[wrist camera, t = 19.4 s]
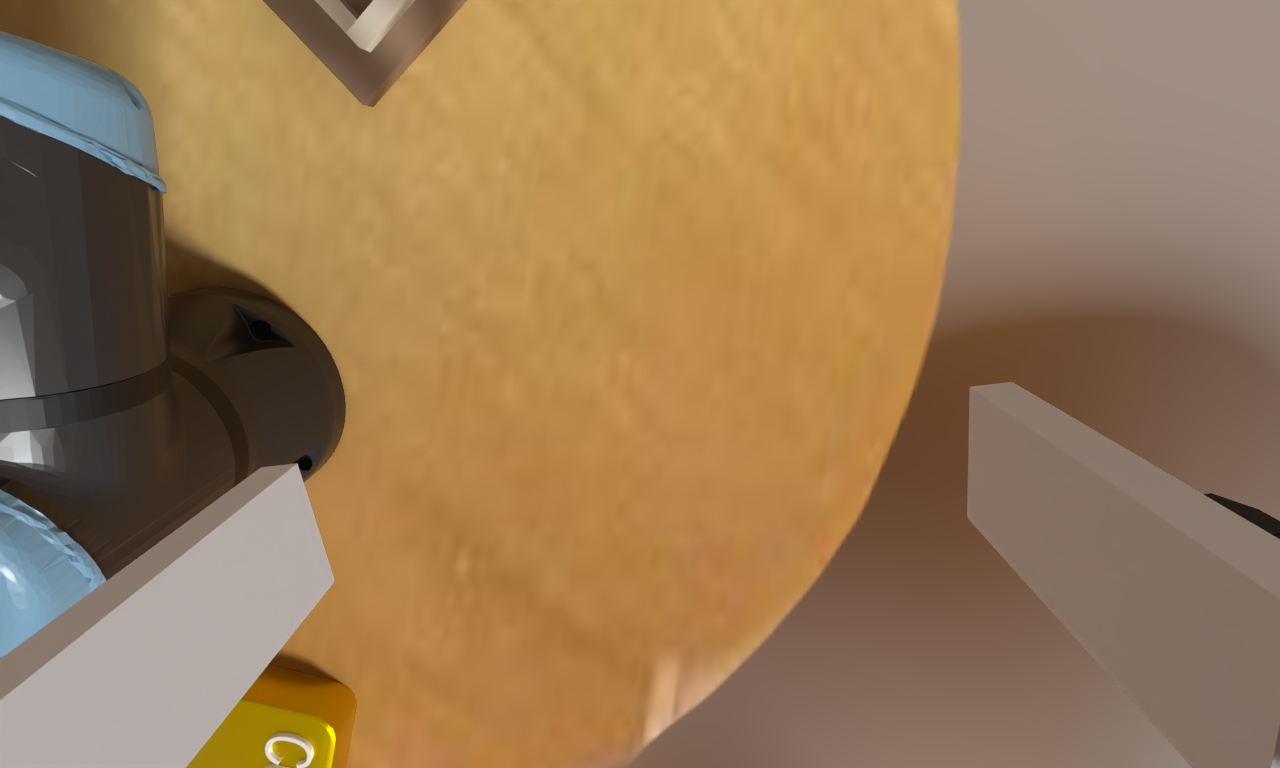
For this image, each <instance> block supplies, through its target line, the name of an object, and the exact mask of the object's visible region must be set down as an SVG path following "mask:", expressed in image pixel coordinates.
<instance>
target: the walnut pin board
mask: <svg viewBox="0 0 1280 768" xmlns="http://www.w3.org/2000/svg"><path fill="white" fill-rule="evenodd" d="M263 1H264V2H265V3H266V4H267V5H268V6H269V7H270V8H271V9H272V10H273V11H274V12H275V13H276V14H277V16H278V17H279V18H280V19H281V20H282V21H283V22H284V23H285V24H286V25H287V26H288V27H289V28H290V29H291V30H292V31H293V32H294V33H295V34H296V35H297V36H298V37H299V38H300V40H301V41H302V42H303V43H304V44H305V45H306V46H307V47H308V48H309V49H310V50H311V51H312V52H313V53H314V54H315V55H316V56H317V57H318V58H319V59H320V60H321V61H322V62H323V63H324V65H325V66H326V67H327V68H328V69H329V70H330V71H331V72H332V73H333V74H334V75H335V76H336V77H337V78H338V79H339V80H340V81H341V82H342V83H343V84H344V85H345V86H346V87H347V89H348V90H349V91H350V92H351V93H352V94H353V95H354V96H355V97H356V98H357V99H358V100H359V101H360V102H361V103H362V104H363V105H367V106H372V107H374V105H375V104H376V103H377V102H378V101H379V100H380V99H381V97H382V96H383V95H384V94H385V93H386V92H387V91H388V90H389V88H390V87H391V86H392V85H393V84H394V83H395V82H396V80H397V79H398V78H399V77H400V76H401V75H402V74H403V72H404V71H405V70H406V69H407V68H408V67H409V66H410V65H411V63H412V62H413V61H414V60H415V59H416V58H417V57H418V55H419V54H420V53H421V52H422V51H423V50H424V49H425V47H426V46H427V45H428V44H429V43H430V42H431V41H432V40H433V38H434V37H435V36H436V35H437V34H438V33H439V32H440V30H441V29H442V28H443V27H444V26H445V25H446V24H447V22H448V21H449V20H450V19H451V18H452V17H453V16H454V14H455V13H456V12H457V11H458V10H459V9H460V8H461V7H462V5H463V4H464V3H465V2H466V1H467V0H263Z"/></svg>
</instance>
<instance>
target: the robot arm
mask: <svg viewBox="0 0 1280 768" xmlns="http://www.w3.org/2000/svg"><path fill="white" fill-rule="evenodd" d="M162 193H166V185H165V183H164V181H163V179H162V178H160V176H159V169H158V160H157V152H156V144H155V135H154V127H153V118H152V114H151V111H150V108H149V106H148V104H147V102H146V100H145V98H144V97H143V95H142V94H141V93H140V92H139V90H138V89H137V88H136V87H135V86H134V85H133V84H131V83H130V82H129V81H128V80H127V79H125V78H124V77H123V76H121V75H120V74H118V73H116V72H115V71H113V70H111V69H109V68H107V67H105V66H102V65H100V64H98V63H95V62H92V61H90V60H87V59H84V58H82V57H79V56H76V55H73V54H71V53H68V52H65V51H62V50H59V49H56V48H53V47H50V46H47V45H44V44H41V43H38V42H35V41H32V40H29V39H26V38H22V37H19V36H16V35H13V34H10V33H7V32H4V31H0V768H186V767H187V766H188V764H189V763H190V762H191V761H192V759H193V758H194V757H195V756H196V754H197V753H198V752H199V751H200V749H201V748H202V747H203V746H204V744H205V743H206V742H207V741H208V739H209V738H210V737H211V736H212V734H213V733H214V732H215V731H216V729H217V728H218V727H219V726H220V724H221V723H222V722H223V721H224V719H225V718H226V717H227V716H228V714H229V713H230V712H231V711H232V709H233V708H234V707H235V706H236V704H237V703H238V702H239V701H240V699H241V698H242V697H243V696H244V694H245V693H246V692H247V691H248V689H249V688H250V687H251V686H252V684H253V683H254V682H255V681H256V679H257V678H258V677H259V676H260V674H261V673H262V672H263V671H264V669H265V668H266V667H267V666H268V664H269V663H270V662H271V660H272V659H273V658H274V657H275V655H276V654H277V653H278V652H279V650H280V649H281V648H282V647H283V645H284V644H285V643H286V642H287V640H288V639H289V638H290V637H291V635H292V634H293V633H294V632H295V630H296V629H297V628H298V627H299V625H300V624H301V623H302V622H303V620H304V619H305V618H306V617H307V615H308V614H309V613H310V612H311V610H312V609H313V608H314V607H315V605H316V604H317V603H318V602H319V600H320V599H321V598H322V597H323V595H324V594H325V593H326V592H327V590H328V589H329V588H330V587H331V585H332V584H333V583H334V582H335V581H334V577H333V574H332V571H331V568H330V565H329V562H328V558H327V555H326V552H325V549H324V546H323V543H322V539H321V536H320V533H319V530H318V527H317V523H316V520H315V517H314V514H313V511H312V508H311V504H310V501H309V498H308V495H307V492H306V489H305V485H304V482H305V481H306V480H307V479H308V478H310V477H311V476H312V475H313V474H314V473H315V472H317V471H318V470H319V469H320V468H321V467H322V466H323V465H324V464H325V463H326V462H327V461H328V459H329V458H330V457H331V455H332V454H333V452H334V451H335V449H336V447H337V445H338V443H339V441H340V438H341V435H342V432H343V428H344V422H345V395H344V389H343V385H342V381H341V378H340V375H339V372H338V370H337V367H336V365H335V363H334V361H333V359H332V357H331V355H330V354H329V352H328V350H327V349H326V347H325V346H324V344H323V343H322V342H321V340H320V339H319V338H318V337H317V335H316V334H315V333H314V332H313V331H312V330H311V329H310V328H309V327H308V326H307V325H306V324H305V323H304V322H303V321H302V320H301V319H299V318H298V317H297V316H296V315H294V314H293V313H292V312H290V311H289V310H287V309H286V308H284V307H282V306H281V305H279V304H277V303H275V302H273V301H271V300H269V299H267V298H265V297H262V296H260V295H257V294H254V293H250V292H247V291H243V290H238V289H231V288H204V289H198V290H194V291H190V292H186V293H182V294H178V295H174V296H170V297H168V294H167V275H166V256H165V237H164V218H163V199H162ZM968 457H969V459H968V505H967V518H968V519H969V520H970V521H971V522H972V523H973V525H974V526H975V527H976V528H977V529H978V530H979V531H980V532H981V533H982V534H983V536H984V537H985V538H986V539H987V540H988V541H989V542H990V543H991V545H992V546H993V547H994V548H995V549H996V550H997V551H998V552H999V553H1000V555H1001V556H1002V557H1003V558H1004V559H1005V560H1006V561H1007V562H1008V563H1009V564H1010V566H1011V567H1012V568H1013V569H1014V570H1015V571H1016V572H1017V574H1018V575H1019V576H1020V577H1021V578H1022V579H1023V580H1024V581H1025V582H1026V583H1027V584H1028V586H1029V587H1030V588H1031V589H1032V590H1033V591H1034V592H1035V594H1036V595H1037V596H1038V597H1039V598H1040V599H1041V600H1042V601H1043V602H1044V603H1045V605H1046V606H1047V607H1048V608H1049V609H1050V610H1051V611H1052V612H1053V614H1054V615H1055V616H1056V617H1057V618H1058V619H1059V620H1060V621H1061V622H1062V624H1063V625H1064V626H1065V627H1066V628H1067V629H1068V630H1069V631H1070V632H1071V634H1072V635H1073V636H1074V637H1075V638H1076V639H1077V640H1078V641H1079V642H1080V644H1081V645H1082V646H1083V647H1084V648H1085V649H1086V650H1087V651H1088V652H1089V654H1090V655H1091V656H1092V657H1093V658H1094V659H1095V660H1096V661H1097V662H1098V664H1099V665H1100V666H1101V667H1102V668H1103V669H1104V670H1105V671H1106V672H1107V674H1108V675H1109V676H1110V677H1111V678H1112V679H1113V680H1114V681H1115V682H1116V684H1117V685H1118V686H1119V687H1120V688H1121V689H1122V690H1123V691H1124V693H1125V694H1126V695H1127V696H1128V697H1129V698H1130V699H1131V700H1132V701H1133V702H1134V704H1135V705H1136V706H1137V707H1138V708H1139V709H1140V710H1141V711H1142V712H1143V714H1144V715H1145V716H1146V717H1147V718H1148V719H1149V720H1150V721H1151V722H1152V724H1153V725H1154V726H1155V727H1156V728H1157V729H1158V730H1159V731H1160V732H1161V734H1162V735H1163V736H1164V737H1165V738H1166V739H1167V740H1168V741H1169V743H1170V744H1171V745H1172V746H1173V747H1174V748H1175V749H1176V750H1177V751H1178V752H1179V754H1180V755H1181V756H1182V757H1183V758H1184V759H1185V760H1186V761H1187V763H1188V764H1189V765H1190V766H1191V767H1192V768H1280V521H1278V520H1277V519H1275V518H1273V517H1271V516H1270V515H1268V514H1266V513H1264V512H1262V511H1260V510H1258V509H1255V508H1253V507H1250V506H1247V505H1244V504H1241V503H1238V502H1235V501H1232V500H1229V499H1226V498H1223V497H1221V496H1218V495H1214V494H1212V493H1210V494H1201V493H1200V492H1198V491H1197V490H1195V489H1193V488H1191V487H1190V486H1188V485H1186V484H1185V483H1183V482H1181V481H1180V480H1178V479H1176V478H1174V477H1173V476H1171V475H1169V474H1168V473H1166V472H1164V471H1162V470H1161V469H1159V468H1157V467H1155V466H1154V465H1152V464H1150V463H1149V462H1147V461H1145V460H1144V459H1142V458H1140V457H1139V456H1137V455H1135V454H1134V453H1132V452H1130V451H1128V450H1126V449H1125V448H1123V447H1122V446H1120V445H1118V444H1117V443H1115V442H1113V441H1111V440H1110V439H1108V438H1106V437H1105V436H1103V435H1101V434H1100V433H1098V432H1096V431H1094V430H1093V429H1090V428H1089V427H1087V426H1086V425H1084V424H1082V423H1081V422H1079V421H1077V420H1076V419H1074V418H1072V417H1071V416H1069V415H1067V414H1065V413H1064V412H1062V411H1060V410H1058V409H1057V408H1055V407H1054V406H1052V405H1050V404H1048V403H1047V402H1045V401H1043V400H1042V399H1040V398H1038V397H1036V396H1035V395H1033V394H1031V393H1030V392H1028V391H1026V390H1024V389H1023V388H1021V387H1019V386H1018V385H1016V384H1014V383H1013V382H1009V383H1000V384H991V385H982V386H974V387H970V404H969V454H968Z"/></svg>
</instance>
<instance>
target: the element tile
mask: <svg viewBox="0 0 1280 768" xmlns="http://www.w3.org/2000/svg"><path fill="white" fill-rule="evenodd" d="M356 708H357V704H356V698H355V695H354V693H353V692H352V691H351V690H350V688H349V687H347V686H345V685H344V684H342V683H340V682H338V681H335V680H331V679H327V678H322V677H318V676H314V675H310V674H306V673H302V672H297V671H293V670H289V669H285V668H281V667H277V666H273V665H268V666H267V667H266V668H265V669H264V671H263V672H262V673H261V674H260V676H259V677H258V678H257V679H256V681H255V682H254V683H253V684H252V686H251V687H250V688H249V689H248V691H247V692H246V693H245V694H244V696H243V697H242V698H241V699H240V701H239V702H238V703H237V704H236V706H235V707H234V708H233V709H232V711H231V712H230V713H229V714H228V716H227V717H226V718H225V719H224V721H223V722H222V723H221V724H220V726H219V727H218V728H217V729H216V731H215V732H214V733H213V734H212V736H211V737H210V738H209V739H208V741H207V742H206V743H205V744H204V746H203V747H202V748H201V749H200V751H199V752H198V753H197V754H196V756H195V757H194V758H193V759H192V761H191V762H190V763H189V764H188V766H187V767H186V768H346V763H347V758H348V752H349V746H350V741H351V735H352V730H353V724H354V719H355V713H356Z"/></svg>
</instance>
